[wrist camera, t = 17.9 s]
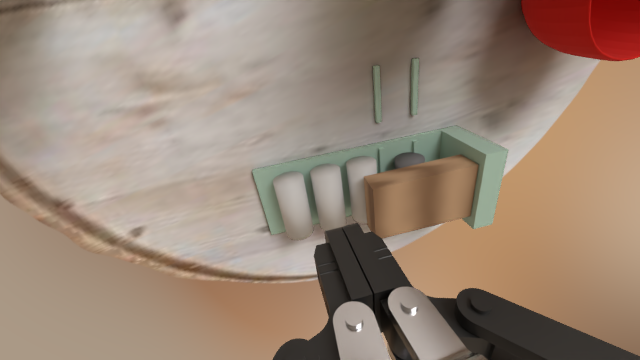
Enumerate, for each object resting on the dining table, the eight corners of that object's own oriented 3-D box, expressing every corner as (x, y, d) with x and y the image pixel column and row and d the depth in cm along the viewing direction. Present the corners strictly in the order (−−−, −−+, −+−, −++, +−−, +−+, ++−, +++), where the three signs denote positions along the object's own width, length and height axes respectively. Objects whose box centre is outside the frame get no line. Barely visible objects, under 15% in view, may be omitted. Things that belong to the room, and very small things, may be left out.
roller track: (271, 232, 38) (274, 280, 31) (252, 169, 33) (250, 209, 26) (449, 189, 41) (492, 224, 33) (456, 125, 36) (508, 149, 28)
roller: (389, 198, 37) (410, 209, 35) (388, 159, 34) (411, 168, 32) (406, 188, 39) (428, 197, 36) (407, 149, 36) (431, 157, 33)
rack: (375, 121, 33) (376, 122, 33) (372, 66, 30) (374, 66, 30) (415, 113, 34) (417, 114, 33) (416, 57, 31) (418, 58, 30)
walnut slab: (367, 224, 34) (375, 239, 32) (363, 176, 31) (373, 189, 28) (455, 202, 35) (470, 216, 33) (461, 154, 32) (478, 164, 29)
